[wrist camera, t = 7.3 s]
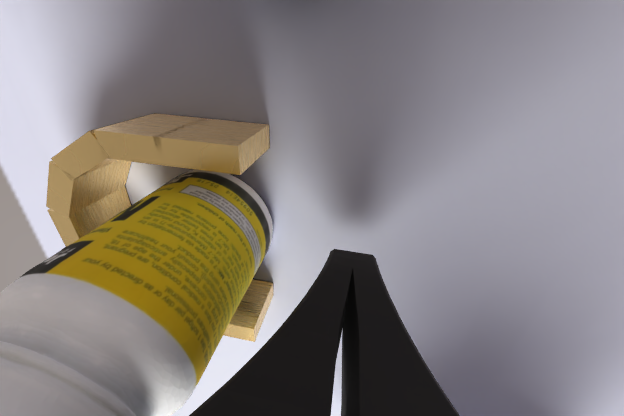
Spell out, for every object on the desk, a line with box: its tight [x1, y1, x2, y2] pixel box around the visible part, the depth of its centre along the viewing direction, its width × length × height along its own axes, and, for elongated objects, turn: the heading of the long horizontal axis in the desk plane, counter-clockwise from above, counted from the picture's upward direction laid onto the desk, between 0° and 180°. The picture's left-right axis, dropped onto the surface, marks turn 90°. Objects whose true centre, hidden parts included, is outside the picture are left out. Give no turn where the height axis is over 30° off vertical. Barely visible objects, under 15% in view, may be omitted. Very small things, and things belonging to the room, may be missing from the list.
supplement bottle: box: [0, 170, 273, 416], centre depth 8 cm, size 5×5×8 cm
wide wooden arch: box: [46, 113, 273, 342], centre depth 10 cm, size 7×8×2 cm
